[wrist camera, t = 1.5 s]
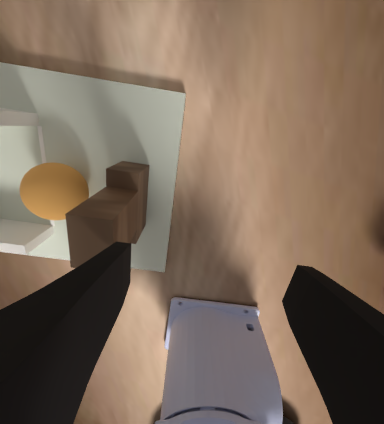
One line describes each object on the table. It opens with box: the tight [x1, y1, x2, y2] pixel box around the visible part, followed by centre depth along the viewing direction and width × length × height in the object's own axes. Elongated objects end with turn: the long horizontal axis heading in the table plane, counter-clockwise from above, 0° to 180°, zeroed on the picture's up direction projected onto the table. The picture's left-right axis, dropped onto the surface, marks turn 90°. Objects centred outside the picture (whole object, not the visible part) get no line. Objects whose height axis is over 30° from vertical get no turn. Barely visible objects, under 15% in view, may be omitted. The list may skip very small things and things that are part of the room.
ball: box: [19, 162, 89, 220], centre depth 14 cm, size 4×4×4 cm
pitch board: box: [0, 62, 186, 272], centre depth 16 cm, size 15×15×1 cm
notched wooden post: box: [65, 161, 150, 268], centre depth 13 cm, size 2×5×7 cm, turn 171°
